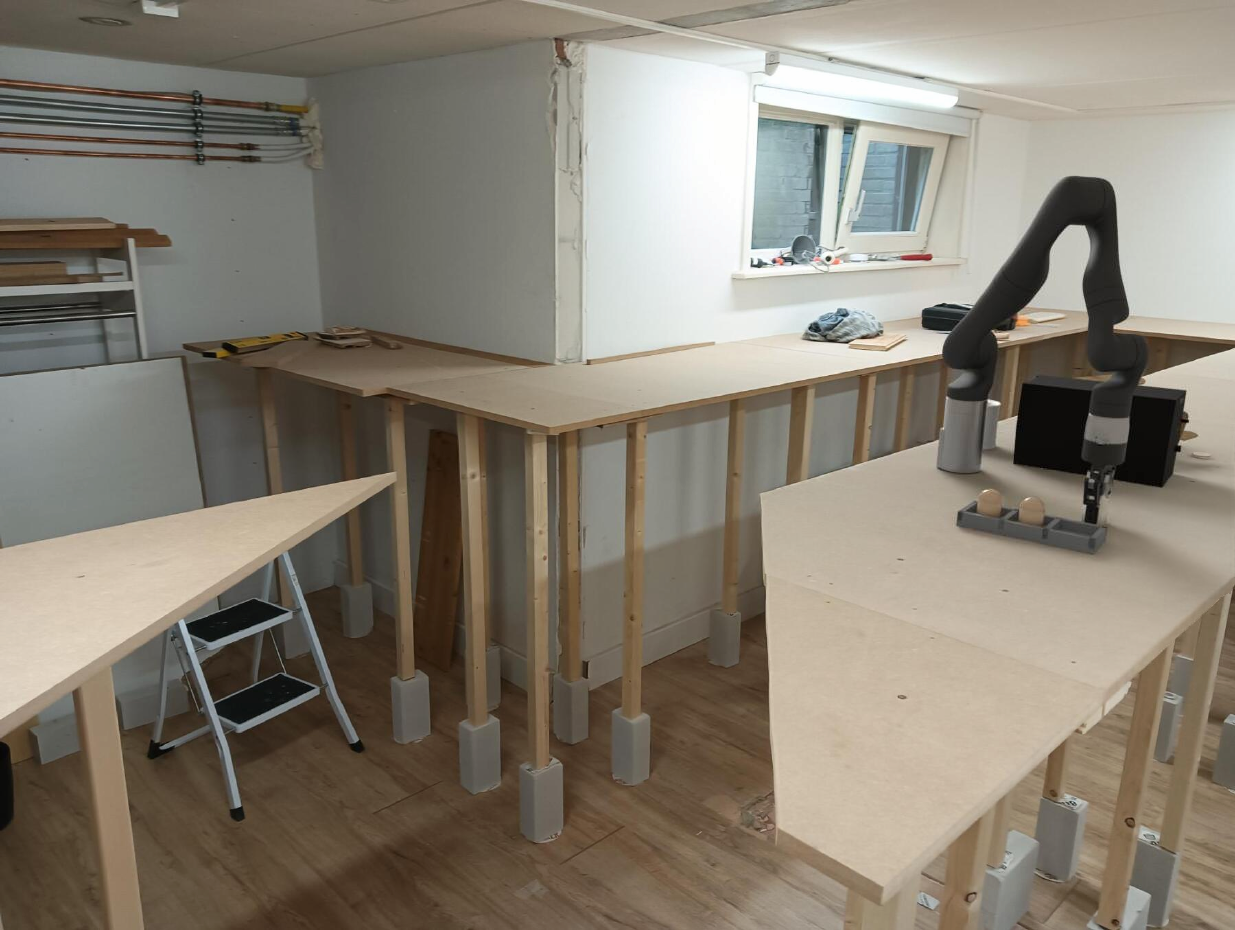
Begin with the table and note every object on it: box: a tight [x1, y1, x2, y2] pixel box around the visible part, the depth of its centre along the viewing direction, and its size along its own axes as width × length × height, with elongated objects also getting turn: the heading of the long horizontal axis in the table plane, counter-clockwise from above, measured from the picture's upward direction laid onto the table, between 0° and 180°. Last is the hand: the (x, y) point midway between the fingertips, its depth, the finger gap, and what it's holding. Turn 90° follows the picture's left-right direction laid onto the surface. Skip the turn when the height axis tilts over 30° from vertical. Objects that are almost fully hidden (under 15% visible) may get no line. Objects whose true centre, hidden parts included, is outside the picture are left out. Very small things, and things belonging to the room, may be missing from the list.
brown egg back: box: [977, 488, 1003, 518], centre depth 186 cm, size 4×4×6 cm
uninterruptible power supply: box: [1012, 374, 1190, 489], centre depth 222 cm, size 16×34×20 cm, turn 52°
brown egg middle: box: [1018, 496, 1046, 527], centre depth 181 cm, size 4×4×6 cm
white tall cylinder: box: [983, 399, 1002, 451], centre depth 244 cm, size 10×9×20 cm
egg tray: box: [956, 500, 1109, 555], centre depth 181 cm, size 25×9×3 cm, turn 50°
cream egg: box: [1080, 496, 1109, 526], centre depth 186 cm, size 4×4×6 cm
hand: (1093, 520), depth 187 cm, fingers closed on cream egg, 4 cm apart
